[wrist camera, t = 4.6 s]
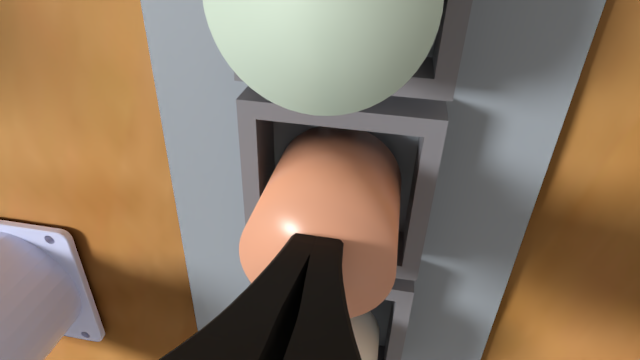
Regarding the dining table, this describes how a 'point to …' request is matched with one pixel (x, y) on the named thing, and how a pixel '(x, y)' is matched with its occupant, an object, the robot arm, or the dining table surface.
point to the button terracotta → (332, 209)
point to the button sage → (324, 48)
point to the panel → (405, 144)
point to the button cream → (366, 335)
